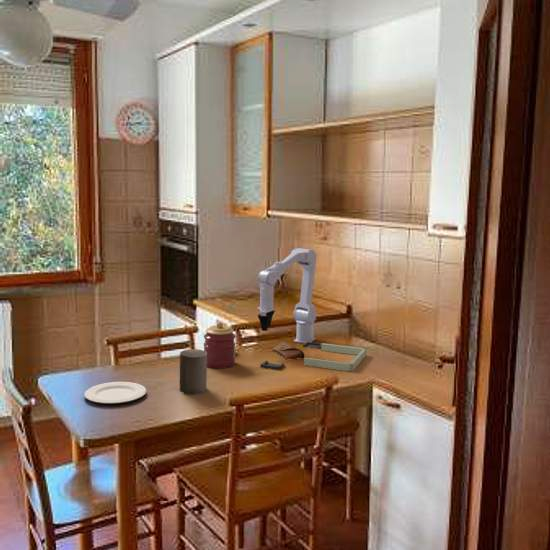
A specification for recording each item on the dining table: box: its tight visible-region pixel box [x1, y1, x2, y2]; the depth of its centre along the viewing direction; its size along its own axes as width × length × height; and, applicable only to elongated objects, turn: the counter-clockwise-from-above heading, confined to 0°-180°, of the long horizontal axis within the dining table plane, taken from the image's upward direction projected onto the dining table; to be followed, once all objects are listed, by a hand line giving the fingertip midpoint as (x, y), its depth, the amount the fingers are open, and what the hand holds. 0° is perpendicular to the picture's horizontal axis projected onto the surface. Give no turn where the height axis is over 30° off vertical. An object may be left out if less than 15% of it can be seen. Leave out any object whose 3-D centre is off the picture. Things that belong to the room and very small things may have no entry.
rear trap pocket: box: [302, 341, 322, 350], centre depth 277 cm, size 5×8×1 cm, turn 69°
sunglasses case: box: [270, 340, 305, 360], centre depth 266 cm, size 18×7×7 cm
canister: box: [203, 321, 237, 369], centre depth 247 cm, size 13×13×18 cm
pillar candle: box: [178, 348, 208, 395], centre depth 217 cm, size 10×10×15 cm
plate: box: [84, 381, 147, 405], centre depth 210 cm, size 21×21×2 cm
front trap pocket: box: [260, 360, 285, 371], centre depth 247 cm, size 6×8×1 cm
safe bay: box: [303, 342, 367, 373], centre depth 258 cm, size 25×20×3 cm
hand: (266, 328), depth 267 cm, fingers open, 7 cm apart
